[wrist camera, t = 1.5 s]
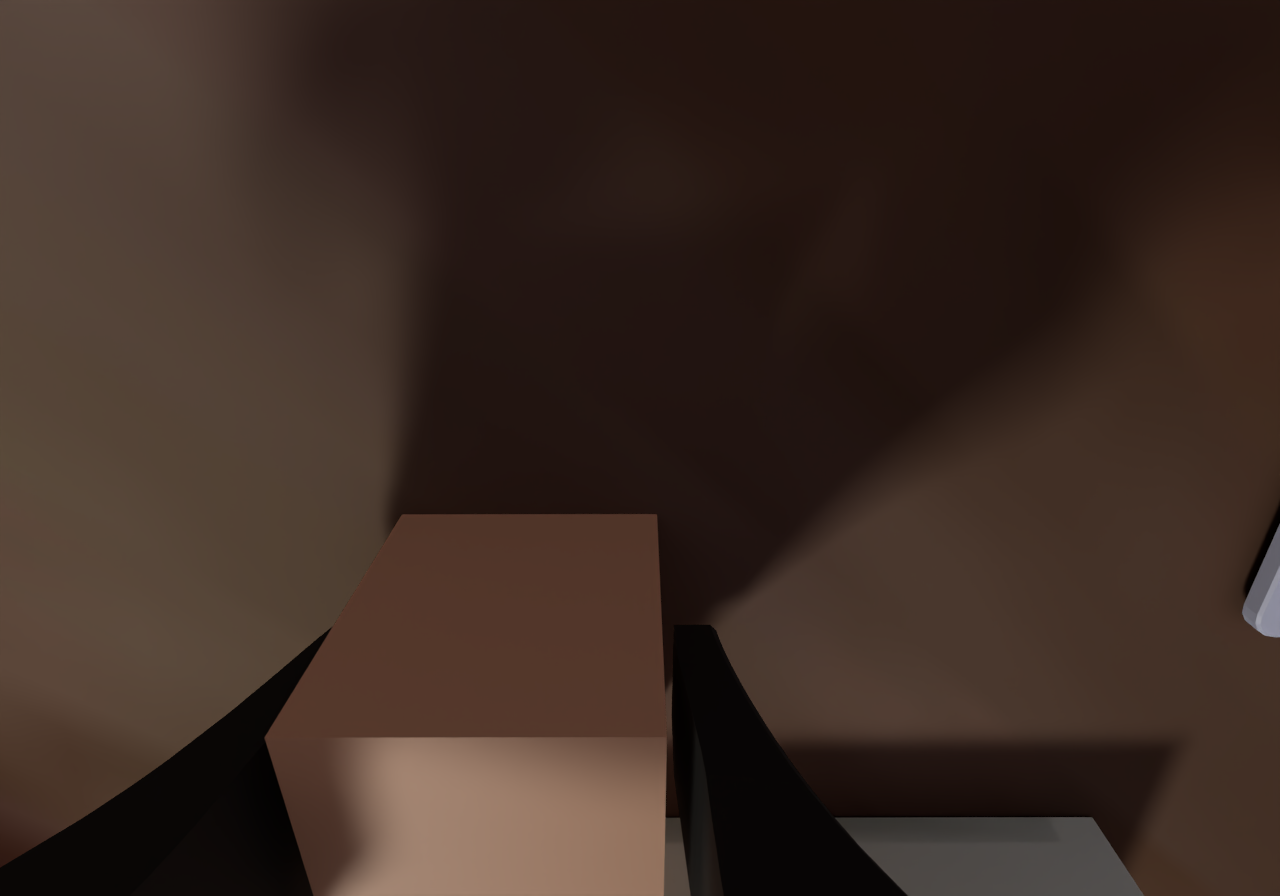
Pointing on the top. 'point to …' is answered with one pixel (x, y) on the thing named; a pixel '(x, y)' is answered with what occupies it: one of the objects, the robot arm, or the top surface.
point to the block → (487, 715)
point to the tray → (969, 856)
